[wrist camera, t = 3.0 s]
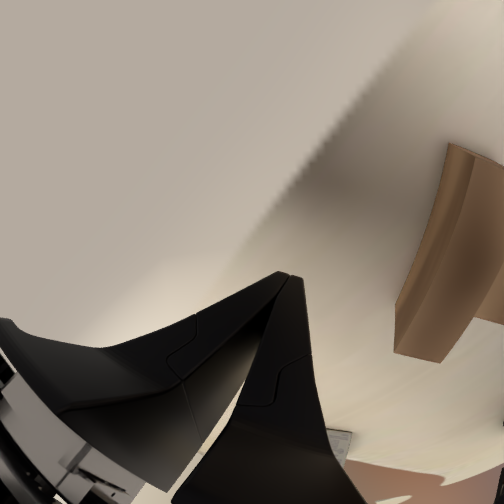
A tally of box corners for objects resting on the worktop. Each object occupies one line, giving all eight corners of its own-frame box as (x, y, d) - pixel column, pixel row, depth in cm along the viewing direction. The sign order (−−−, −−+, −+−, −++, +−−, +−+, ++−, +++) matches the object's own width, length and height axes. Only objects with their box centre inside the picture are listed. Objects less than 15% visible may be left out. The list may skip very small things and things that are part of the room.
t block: (554, 195, 7) (590, 224, 4) (490, 329, 13) (500, 374, 10) (448, 142, 10) (475, 157, 7) (395, 304, 15) (393, 352, 12)
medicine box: (315, 425, 26) (290, 491, 19) (353, 431, 24) (332, 499, 18) (313, 447, 30) (291, 501, 23) (344, 452, 28) (326, 507, 21)
